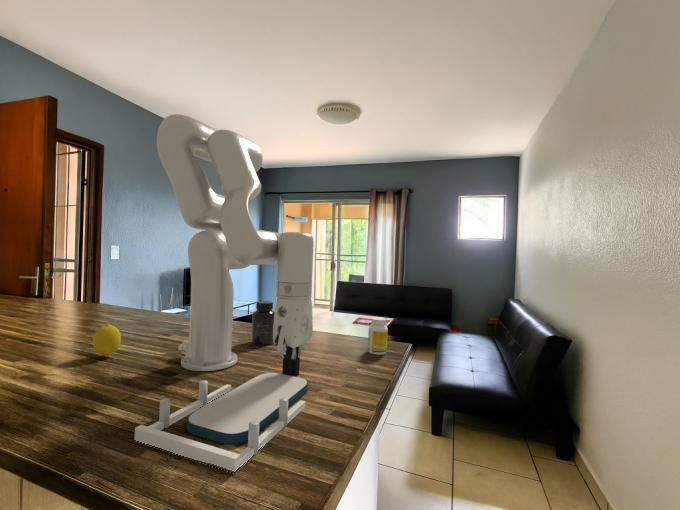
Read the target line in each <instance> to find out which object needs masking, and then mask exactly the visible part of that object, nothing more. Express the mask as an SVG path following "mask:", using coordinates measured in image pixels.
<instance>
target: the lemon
mask: <svg viewBox="0 0 680 510" xmlns="http://www.w3.org/2000/svg"><path fill="white" fill-rule="evenodd" d="M121 343H122V335H121V332H120V330H119V329H118V328H117V327H116V326H114V325H111V324H110V323H106V324H105V325H103V326H101V327H100V328H98V329H97V331H96V332H95V333H94V336H93V340H92V346H93V349H94V351H95V352H96V353H97V354H98V355H102V356H104V358H108V357H109V356H111V355H112V354H114V353H115V352H116V351H117V350H118V349H119V348H120V346H121ZM107 356H108V357H107Z"/></svg>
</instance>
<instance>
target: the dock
mask: <svg viewBox="0 0 680 510" xmlns="http://www.w3.org/2000/svg"><path fill="white" fill-rule="evenodd" d="M208 384H209V381H208V380H207V379H206V380H201V381H199V383H198V399H197V400H195V401H193V402H191V403H189V404H188V405H185V406H183V407H182V408H180V409H178V410H176V411H174V412H172V413H171V398H168V397H165V398H162V399H160V400H159V413H158V414H159V415H158V416H159V418H158V419H159V420H158V421H156V422H154V423H152V424H150V425H148V426H147V425H144V424H140V425H138V426H136V427H135V428H134V440H136V441H135V442H137V441H139V442H138V443H140V442H142V443H141V444H143V443H145V444H144V445H146V444H149V445H152V446H155V447H158V448H162V449H164V450H167V451H170V452H173V453H175V454H174V455H176V454H178V455H177V456H179V455H181V456H180V457H182V456H184V457H183V458H185V457H188V458H192V459H194V460H198V461H202V462H206V463H211V464H214V465H217V466H220V467H223V468H226V469H228V470H232V471H234V472H235V471H236V470H237V469H238V468H239V467H241V466H242V465H243V464H244V463H245V462H246V463H248V462H249V461H250V460H251V459H252V458H253V457H254V456H255V455H254V454H256V453H257V452H258V453H259V451H260V450H261V449H262V448H263V447H264V446H266V445H267V444H268V443H269V442H270V441H271V440H272V439H273V438H274V437H275V436H276V435H277V434H279V432H280V431H281V430H283V429H284V428H285V427H288V424H289V423H290V422H292V420H293V419H294V418H295V417H297V415H298V414H300V413H301V412H302V411H303V410H304V409H305V408H306V402H307V401H306V400H300V399H299V400H298V401H297V403H296V404H294V405H293V406H291V407H290V408H288V398H281V399H280V400H279V417H278V419H277V420H276V421H275V422H274V423H272V424H271V425H270V426H269V427H268V428H267V429H266V430H265V431H264V432H262V433H261V434H260V433H259V421H251V422H249V431H248V441H247V446H246V447H245V448H243V450H242V451H241V452H239V453H236V452H233V451H229V450H227V449H223V448H221V447H220V448H219V447H216V446H214V445H210V444H207V443H203V442H201V441H200V442H199V441H198V440H193V439H190V438H187V437H183V436H180V435H177V434H173V433H171V432H166V431H163V430H164V428H165V429H167V428H169V427H170V426H171V425H173V424H175V423H176V422H178V421H180V420H182V419H184V418H186V417H187V416H190V415H191V414H192V413H193V412H195V411H196V410H198V409H200V407H202V406H205V405H207V403H209V402H211V401H212V400H213V401H214V399H215V400H216V398H218V397H221V395H222V396H223V394H225V393H228V392H230V391H231V390H232V384H229V383H228V384H225V385H223V386H221V387H219V388H218V389H215V390H213V391H212V392H210V393H209V394H208V392H209V391H208V388H209V387H208V386H209V385H208ZM266 443H267V444H266ZM265 444H266V445H265ZM149 445H148V446H149ZM152 446H151V447H152ZM262 446H263V447H262ZM155 447H154V448H155ZM261 447H262V448H261ZM158 448H157V449H158ZM260 448H261V449H260ZM259 449H260V450H259ZM164 450H163V451H164ZM258 450H259V451H258ZM167 451H166V452H167ZM170 452H169V453H170ZM173 453H172V454H173ZM253 455H254V456H253ZM256 455H257V454H256ZM252 456H253V457H252ZM251 457H252V458H251ZM188 458H187V459H188ZM250 458H251V459H250ZM249 459H250V460H249ZM194 460H193V461H194ZM248 460H249V461H248ZM247 461H248V462H247ZM246 463H245V464H246ZM245 464H244V465H245ZM244 465H243V466H244ZM243 466H242V467H243ZM242 467H241V468H242Z"/></svg>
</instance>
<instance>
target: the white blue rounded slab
mask: <svg viewBox="0 0 680 510" xmlns="http://www.w3.org/2000/svg"><path fill="white" fill-rule="evenodd" d="M308 390H309V383H308V381H307V379H306V378H303V377H299V376H297V377H295V376H290V375H284V374H282V373H278V372H266V373H261V374H258V375H257V376H254V377H253V378H251V379H250V380H247V381H245V382H244V383H242V384H240V385H238V386H237V387H235V388H233V389H231V391H229V392H227V393H226V394H224V395H222V396H220V397H219V398H217V399H215V400H213V401H212V402H210V403H208V404H207V405H205V406H203V407H201V408H199V409H198V410H196V411H194V412H192V413H191V414H189V415H188V418H187V420H186V430H187V432H188V433H189V434H190V433H191V435H192V434H193V435H192V436H195V435H196V436H195V437H198V436H199V437H198V438H201V437H203V438H202V439H205V438H207V439H206V440H208V439H211V440H214V441H213V442H215V441H218V442H221V443H225V444H224V445H226V444H236V445H240V444H239V443H241V444H243V443H242V442H244V443H246V442H248V441H247V440H248V431H249V422H251V421H259V434H260V433H261V432H262V431H264V430H265V428H267V427H268V426H269V425H270V424H272V423H273V422H274V421H275V420H276V419H278V418H279V400H280V399H281V398H288V409H290V408H291V407H293V406H294V405H295V403H296V402H298V401H300V399H301V398H302V397H303V396H304V395H306V394H307V392H308ZM292 405H293V406H292ZM271 422H272V423H271ZM211 440H210V441H211ZM245 441H246V442H245ZM218 442H217V443H218ZM221 443H220V444H221Z"/></svg>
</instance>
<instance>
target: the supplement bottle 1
mask: <svg viewBox="0 0 680 510" xmlns="http://www.w3.org/2000/svg"><path fill="white" fill-rule="evenodd" d="M255 309H256V310H255V311H253V312H252V315H251V316H252V318H251V342H250V343H252V344H253V345H256V346H270V345H274V343H273V324H274V314H275V310H273V309H274V302H273V301H270V300H261V301H260V300H259V301H256V306H255Z"/></svg>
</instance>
